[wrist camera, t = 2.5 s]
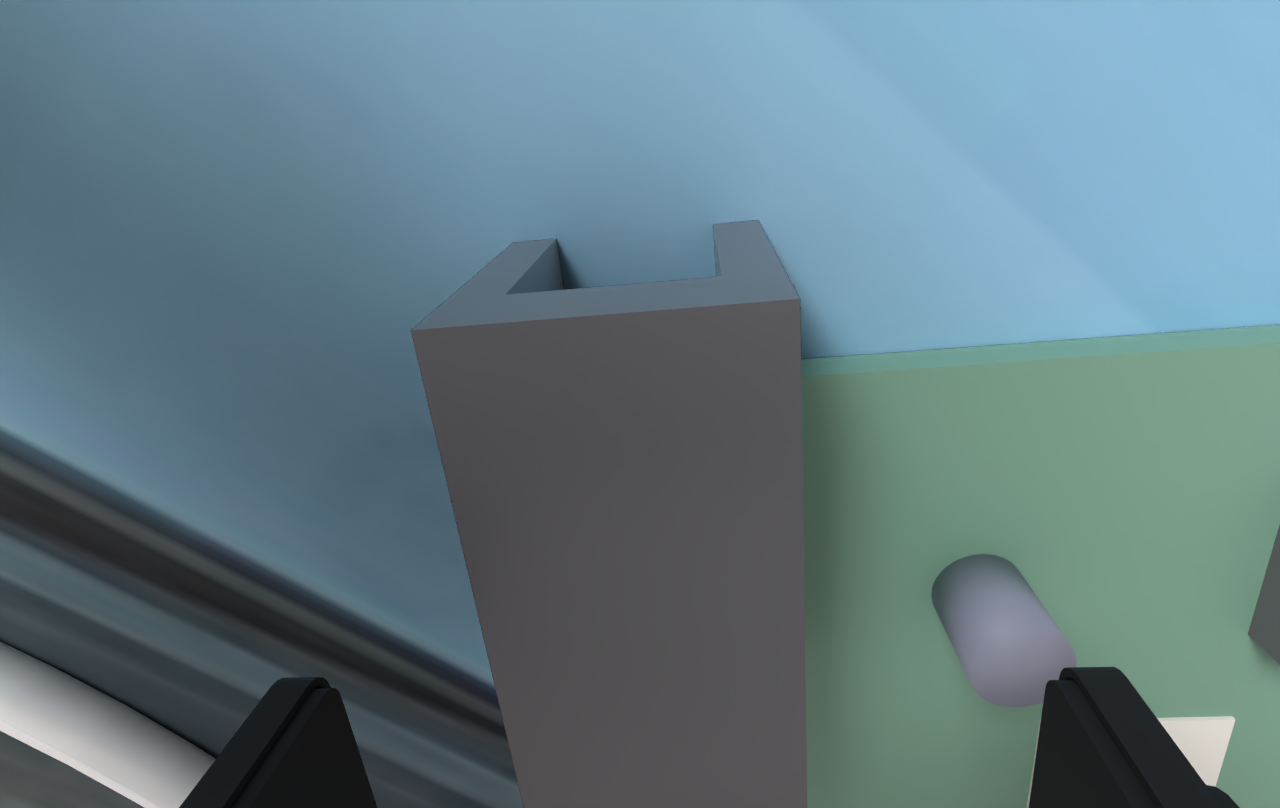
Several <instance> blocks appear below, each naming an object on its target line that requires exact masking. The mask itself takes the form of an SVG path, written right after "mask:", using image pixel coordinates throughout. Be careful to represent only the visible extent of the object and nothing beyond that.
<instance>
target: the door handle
mask: <svg viewBox="0 0 1280 808" xmlns="http://www.w3.org/2000/svg"><path fill="white" fill-rule="evenodd" d="M0 731H2V732H4V733H6V734H8V735H10V736H12V737H14V738H16V739H18V740H20V741H22V742H24V743H26V744H28V745H30V746H32V747H34V748H36V749H38V750H39V751H41V752H43V753H45V754H47V755H49V756H51V757H53V758H55V759H57V760H59V761H61V762H63V763H65V764H67V765H69V766H71V767H73V768H75V769H76V770H78V771H80V772H82V773H84V774H85V775H87V776H89V777H91V778H93V779H94V780H96V781H98V782H100V783H102V784H103V785H105V786H107V787H109V788H111V789H112V790H114V791H116V792H118V793H120V794H121V795H123V796H125V797H127V798H129V799H130V800H132V801H134V802H136V803H138V804H139V805H141V806H143V807H145V808H179V807H180V806H181V804H182V803H183V802H184V800H185V799H186V798H187V796H188V795H189V794H190V792H191V791H192V790H193V789H194V787H195V786H196V785H197V783H198V782H199V781H200V779H201V778H202V777H203V775H204V774H205V773H206V772H207V770H208V769H209V768H210V766H211V765H212V764H213V762H214V761H215V760H216V759H215V758H214V757H212V756H211V755H209V754H207V753H206V752H204V751H203V750H201V749H200V748H198V747H196V746H195V745H193V744H192V743H190V742H188V741H187V740H185V739H183V738H181V737H180V736H178V735H176V734H175V733H173V732H171V731H169V730H168V729H166V728H164V727H163V726H161V725H159V724H157V723H156V722H154V721H152V720H150V719H149V718H147V717H145V716H144V715H142V714H140V713H138V712H137V711H135V710H133V709H132V708H130V707H128V706H126V705H125V704H123V703H121V702H119V701H117V700H115V699H113V698H111V697H110V696H108V695H106V694H104V693H102V692H100V691H98V690H96V689H94V688H92V687H91V686H89V685H87V684H85V683H83V682H81V681H79V680H77V679H75V678H74V677H72V676H70V675H68V674H66V673H64V672H62V671H60V670H58V669H56V668H55V667H53V666H51V665H49V664H46V663H44V662H42V661H40V660H38V659H36V658H34V657H32V656H30V655H28V654H25V653H23V652H21V651H19V650H17V649H15V648H13V647H11V646H9V645H7V644H5V643H2V642H0Z"/></svg>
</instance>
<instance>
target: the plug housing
mask: <svg viewBox="0 0 1280 808" xmlns="http://www.w3.org/2000/svg"><path fill="white" fill-rule="evenodd" d="M713 234H714V250H715V267H716V277H708V278H696V279H685V280H673V281H661V282H649V283H637V284H626V285H614V286H602V287H590V288H578V289H566V290H564V289H563V282H562V275H561V268H560V261H559V254H558V247H557V240H556V238H555V239H545V240H534V241H523V242H513V243H512V244H511V245H510V246H509V247H507V248H506V249H505V250H504V251H503V252H502V253H500V254H499V255H498V256H497V257H496V258H494V259H493V260H492V261H491V262H490V263H489V264H487V265H486V266H485V267H484V268H483V269H482V270H480V271H479V272H478V273H477V274H476V275H475V276H473V277H472V278H471V279H470V280H469V281H468V282H466V283H465V284H464V285H463V286H462V287H461V288H459V289H458V290H457V291H456V292H455V293H454V294H452V295H451V296H450V297H449V298H448V299H447V300H445V301H444V302H443V303H442V304H441V305H440V306H438V307H437V308H436V309H435V310H434V311H433V312H431V313H430V314H429V315H428V316H427V317H426V318H424V319H423V320H422V321H421V322H420V323H419V324H417V325H416V326H415V327H414V328H413V329H412V330H411V333H412V338H413V342H414V346H415V350H416V354H417V359H418V363H419V367H420V371H421V376H422V380H423V384H424V388H425V393H426V397H427V401H428V405H429V409H430V414H431V418H432V422H433V426H434V431H435V435H436V439H437V443H438V447H439V452H440V456H441V460H442V464H443V469H444V473H445V477H446V481H447V486H448V490H449V494H450V498H451V502H452V507H453V511H454V515H455V519H456V524H457V528H458V532H459V536H460V541H461V545H462V549H463V553H464V557H465V562H466V566H467V570H468V574H469V579H470V583H471V587H472V591H473V595H474V600H475V604H476V608H477V612H478V617H479V621H480V625H481V629H482V634H483V638H484V642H485V646H486V650H487V655H488V659H489V663H490V667H491V672H492V676H493V680H494V684H495V688H496V693H497V697H498V701H499V705H500V710H501V714H502V718H503V722H504V727H505V731H506V735H507V739H508V743H509V748H510V752H511V756H512V760H513V765H514V769H515V773H516V777H517V782H518V786H519V790H520V794H521V798H522V803H523V807H524V808H807V745H806V675H805V604H804V533H803V461H802V390H801V320H800V297H799V296H798V294H797V292H796V290H795V288H794V286H793V284H792V282H791V281H790V279H789V277H788V275H787V273H786V271H785V269H784V267H783V265H782V264H781V262H780V260H779V258H778V256H777V254H776V252H775V250H774V249H773V247H772V245H771V243H770V241H769V239H768V237H767V235H766V234H765V232H764V230H763V228H762V226H761V224H760V222H759V220H751V221H740V222H730V223H719V224H713Z"/></svg>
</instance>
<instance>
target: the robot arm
mask: <svg viewBox="0 0 1280 808" xmlns="http://www.w3.org/2000/svg"><path fill="white" fill-rule="evenodd" d="M179 808H377V806H376V802H375V799H374V796H373V793H372V790H371V787H370V784H369V781H368V778H367V775H366V772H365V769H364V766H363V762H362V759H361V756H360V753H359V750H358V747H357V744H356V741H355V738H354V735H353V732H352V729H351V726H350V722H349V719H348V716H347V713H346V710H345V707H344V704H343V701H342V698H341V695H340V693H339V691H338V690H337V689H335V688H331V687H330V685H329V683H328V681H327V680H326V679H324V678H320V677H310V678H282V679H280V680H277V681H276V682H275V683H274V684H273V685H272V686H271V688H270V689H269V690H268V691H267V693H266V694H265V695H264V697H263V698H262V699H261V701H260V702H259V703H258V705H257V706H256V707H255V709H254V710H253V711H252V712H251V714H250V715H249V716H248V718H247V719H246V720H245V722H244V723H243V724H242V726H241V727H240V728H239V730H238V731H237V732H236V733H235V735H234V736H233V737H232V739H231V740H230V741H229V743H228V744H227V745H226V747H225V748H224V749H223V751H222V752H221V753H220V754H219V756H218V757H217V758H216V760H215V761H214V762H213V764H212V765H211V766H210V768H209V769H208V770H207V772H206V773H205V774H204V775H203V777H202V778H201V779H200V781H199V782H198V783H197V785H196V786H195V787H194V789H193V790H192V791H191V792H190V794H189V795H188V796H187V798H186V799H185V800H184V802H183V803H182V804H181V806H180V807H179ZM1029 808H1240V807H1239V806H1238V805H1237V804H1236V803H1235V802H1234V801H1233V800H1232V798H1231V797H1230V796H1229V795H1228V794H1226V793H1225V792H1223V791H1222V790H1220V789H1219V788H1217V787H1216V786H1210V785H1206V784H1205V783H1204V781H1203V780H1202V779H1201V777H1200V776H1199V775H1198V773H1197V772H1196V771H1195V769H1194V768H1193V766H1192V765H1191V764H1190V762H1189V761H1188V760H1187V758H1186V757H1185V756H1184V754H1183V753H1182V752H1181V750H1180V749H1179V747H1178V746H1177V745H1176V743H1175V742H1174V741H1173V739H1172V738H1171V737H1170V735H1169V734H1168V732H1167V731H1166V730H1165V728H1164V727H1163V726H1162V724H1161V723H1160V722H1159V720H1158V719H1157V718H1156V716H1155V715H1154V713H1153V712H1152V711H1151V709H1150V708H1149V707H1148V705H1147V704H1146V703H1145V701H1144V700H1143V699H1142V697H1141V696H1140V694H1139V693H1138V692H1137V690H1136V689H1135V688H1134V686H1133V685H1132V684H1131V682H1130V681H1129V680H1128V678H1127V677H1126V676H1125V675H1124V673H1123V672H1122V671H1121V670H1119V669H1118V668H1116V667H1068V668H1063V670H1062V671H1061V672H1060V676H1059V680H1049V681H1048V682H1047V684H1046V688H1045V694H1044V701H1043V708H1042V715H1041V723H1040V730H1039V737H1038V744H1037V751H1036V759H1035V766H1034V773H1033V780H1032V787H1031V795H1030V802H1029Z"/></svg>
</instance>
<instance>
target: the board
mask: <svg viewBox="0 0 1280 808" xmlns="http://www.w3.org/2000/svg"><path fill="white" fill-rule="evenodd" d="M801 390H802V461H803V533H804V604H805V675H806V745H807V808H1029V802H1030V795H1031V787H1032V780H1033V773H1034V766H1035V759H1036V751H1037V744H1038V737H1039V730H1040V723H1041V715H1042V708H1043V701H1044V694H1045V688H1046V684H1047V682H1048V681H1049V680H1059V676H1060V672H1061V671H1062V670H1063V668H1068V667H1116V668H1118V669H1119V670H1121V671H1122V672H1123V673H1124V675H1125V676H1126V677H1127V678H1128V680H1129V681H1130V682H1131V684H1132V685H1133V686H1134V688H1135V689H1136V690H1137V692H1138V693H1139V694H1140V696H1141V697H1142V699H1143V700H1144V701H1145V703H1146V704H1147V705H1148V707H1149V708H1150V709H1151V711H1152V712H1153V713H1154V715H1155V716H1156V718H1157V719H1158V720H1159V722H1160V723H1161V724H1162V726H1163V727H1164V728H1165V730H1166V731H1167V732H1168V734H1169V735H1170V737H1171V738H1172V739H1173V741H1174V742H1175V743H1176V745H1177V746H1178V747H1179V749H1180V750H1181V752H1182V753H1183V754H1184V756H1185V757H1186V758H1187V760H1188V761H1189V762H1190V764H1191V765H1192V766H1193V768H1194V769H1195V771H1196V772H1197V773H1198V775H1199V776H1200V777H1201V779H1202V780H1203V781H1204V783H1205V784H1206V785H1210V786H1216V787H1217V788H1219V789H1220V790H1222V791H1223V792H1225V793H1226V794H1228V795H1229V796H1230V797H1231V798H1232V800H1233V801H1234V802H1235V803H1236V804H1237V805H1238V806H1239V807H1240V808H1280V325H1266V326H1252V327H1239V328H1225V329H1211V330H1197V331H1184V332H1170V333H1156V334H1142V335H1128V336H1115V337H1101V338H1087V339H1073V340H1060V341H1046V342H1032V343H1018V344H1005V345H991V346H977V347H963V348H949V349H936V350H922V351H908V352H894V353H881V354H867V355H853V356H839V357H825V358H812V359H801Z"/></svg>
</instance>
